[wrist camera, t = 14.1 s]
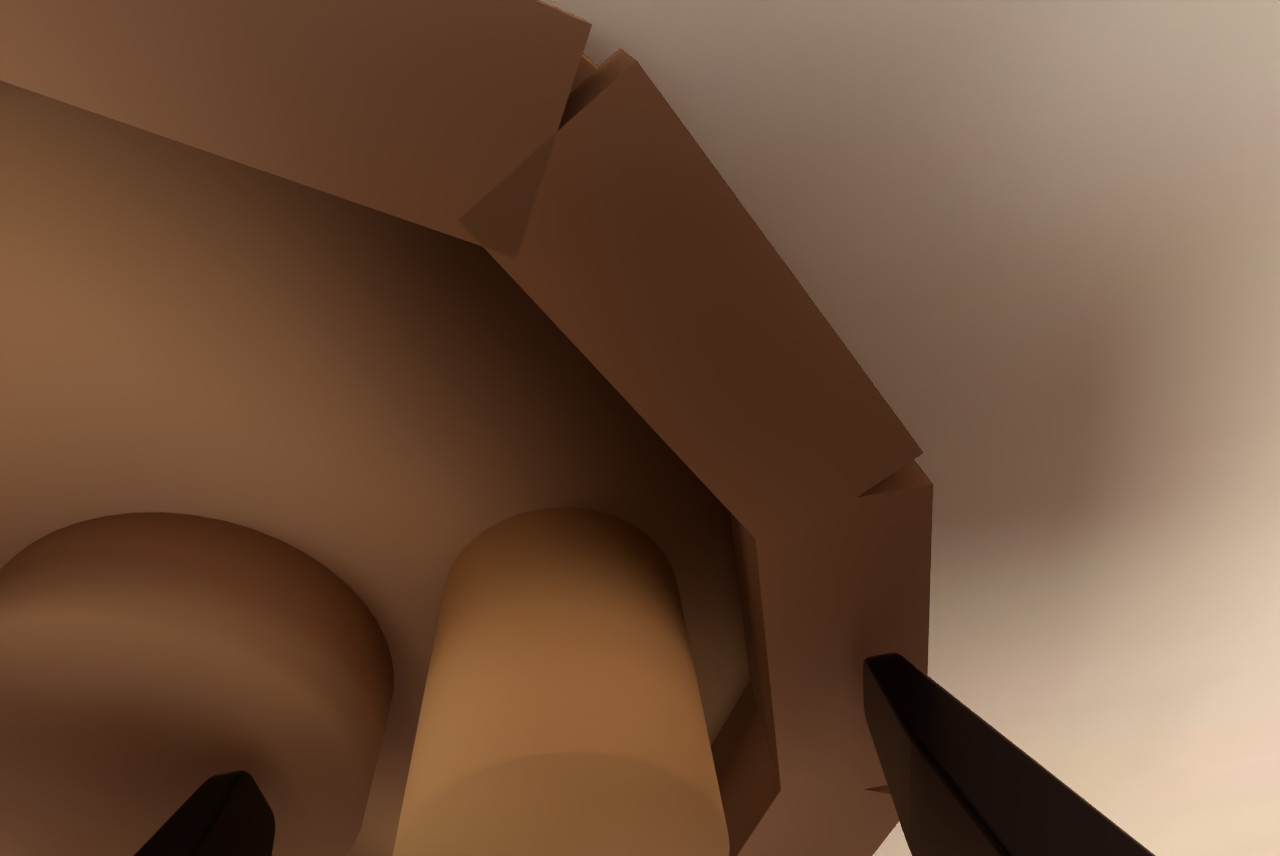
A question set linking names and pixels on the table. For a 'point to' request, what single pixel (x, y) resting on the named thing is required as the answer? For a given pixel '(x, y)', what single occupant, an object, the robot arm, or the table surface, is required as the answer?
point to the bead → (561, 702)
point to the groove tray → (400, 412)
